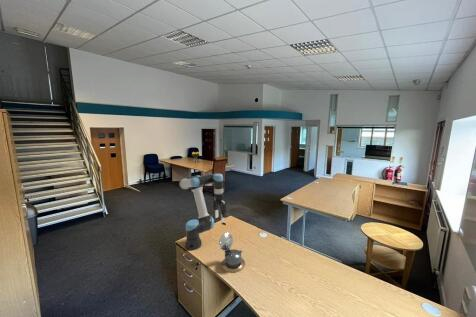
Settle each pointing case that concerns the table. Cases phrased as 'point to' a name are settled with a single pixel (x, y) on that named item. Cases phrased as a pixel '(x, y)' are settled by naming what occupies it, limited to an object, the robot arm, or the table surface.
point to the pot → (233, 261)
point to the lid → (226, 241)
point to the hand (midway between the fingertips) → (219, 219)
